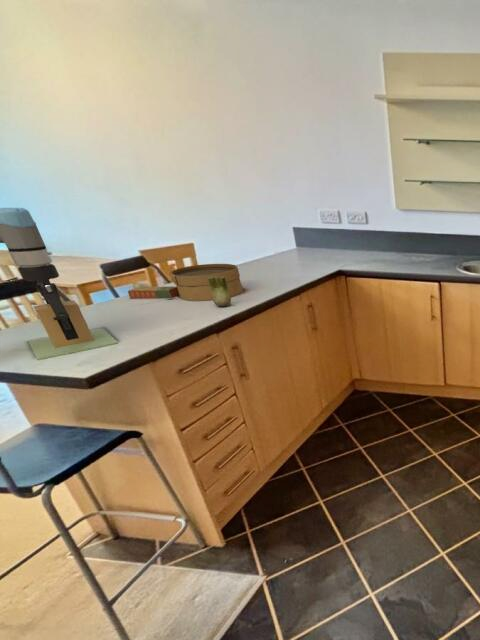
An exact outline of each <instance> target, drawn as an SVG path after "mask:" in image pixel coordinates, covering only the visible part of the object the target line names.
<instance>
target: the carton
mask: <svg viewBox="0 0 480 640" xmlns="http://www.w3.org/2000/svg"><path fill="white" fill-rule="evenodd" d="M127 294H128V296H129V299H130V300H137V299H138V300H141V299H142V300H143V299H144V300H145V299H146V300H147V299H150V300H151V299H165V300H166V301H171V300H174V299H175V297H177V298H178V297H179V298H180V295H179V292H178V289H177V286H138V287H135V288H132V289H129V290H127Z"/></svg>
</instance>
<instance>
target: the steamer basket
mask: <svg viewBox="0 0 480 640" xmlns="http://www.w3.org/2000/svg"><path fill="white" fill-rule="evenodd" d="M170 276H171V279H172V283H173V284H174V285H176V286H177V289H178V292H179V295H180V296H179V298H180V299H181V300H183V301H189V302H206V301H213V297H212V290H211V286H210V283H209V281H208V278H212V277H215V280H216V278H217V277H220V280H221V283H222V279H221V278H225V280H226V284H227V287H228V290H229V293H230V297H231V298H233V297H234V296H238V295H240V294H241V293H243V292H244V288H243V285H242V281H241V278H240V277H241V275H240V271H239V268H238V266H237V265H236V264H231V263H206V264H205V263H204V264H195V265H188V266H182V267H179V268H175V269H174V270H172V271H170ZM212 281H213V280H212ZM216 282H217V280H216ZM217 285H218V283H217ZM176 286H175V287H176ZM222 286H223V284H222ZM218 287H219V286H218Z"/></svg>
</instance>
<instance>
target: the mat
mask: <svg viewBox="0 0 480 640" xmlns="http://www.w3.org/2000/svg"><path fill="white" fill-rule="evenodd" d="M90 332H91V334H92V337H93V339H94V340H93V341H88V342H83V343H78V344H73V345H68V346H62V347H57V348H55V347H54V345H53V344H52V342H51V340H50V338H49V337H47V338H41V339H36V340H32V341H31V340H30V341H28V344H29V345H30V348H31V350H32V352H33V354H34V356H35V358H36V360H37V361H41V360H45V359H50V358H54V357H55V358H56V357H59V356H64V355H68V354H75V353H78V352H83V351H84V352H85V351H89V350H93V349H99V348H104V347H107V346H108V347H109V346H113V345H118V344H119V342H118V341H117V340H116V339H115V337H113V336H112V335H111V334H110V333H109V332H108V331H107V330H106V329H105V328H96V329H92V330H90Z"/></svg>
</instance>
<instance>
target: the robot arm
mask: <svg viewBox="0 0 480 640" xmlns="http://www.w3.org/2000/svg"><path fill="white" fill-rule="evenodd" d="M0 244H5V246H6V248H7V250H8V253H9V255H10V257H11V259H12V261H13V263H14V265H15V266H17V267H18V268H17V270H18V272H19V274H20V276H21V278H22V279H23V281H26V282H35V283H36V284H35V288H36V291H38V293H39V294H40V296H41V297H42V298H43V299H44V301H45V304H50V306H51V308H52V310H53V312H54V314H55V315H56V317H53V319H54V320H57V321H58V323H59V325H60V327H61V329H62V331H63V333H64V335H65V337H66V339H67V340H72V339H77V338H79V337H78V335H77V332H76V330H75V328H74V326H73V324H72V322H71V320H70V318H69V314H68V313H67V311H66V309H65V308H64V306H63V304H62V302H63V301H62V300H61V295H60V293H59V290H58V287H57V285H56V284H55V283H54V282H53V283H51V281H50V280H54V279H58V278H59V277H60V274H59V272H58V270H57V267H56V265H54V264H53V259H52V257H51V256H52V255H53V252H52V251H48V249H47V246H46V244H45V242H44V239H43V237H42V235H41V233H40V230H39V228H38V226H37V223H36V221H35V220H34V219H33V217H32V214H31V213H30V211H29V210H28V209H26V208H24V207H0ZM18 279H19V277H18V276H15V277H13V278H10V279H7V280H5V281H9V282H11V281H10V280H12V281H14V280H18Z"/></svg>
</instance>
